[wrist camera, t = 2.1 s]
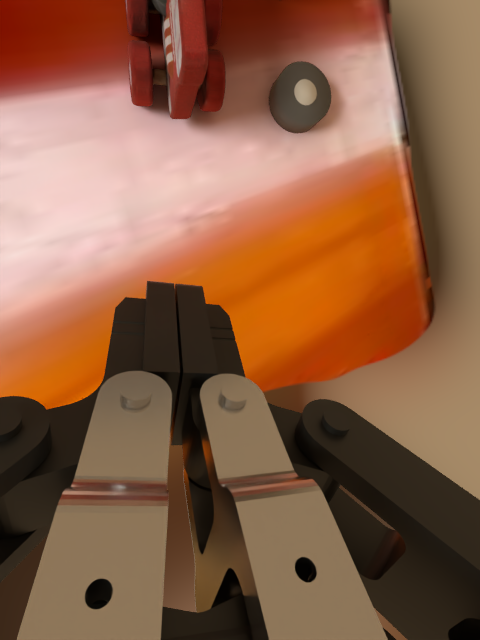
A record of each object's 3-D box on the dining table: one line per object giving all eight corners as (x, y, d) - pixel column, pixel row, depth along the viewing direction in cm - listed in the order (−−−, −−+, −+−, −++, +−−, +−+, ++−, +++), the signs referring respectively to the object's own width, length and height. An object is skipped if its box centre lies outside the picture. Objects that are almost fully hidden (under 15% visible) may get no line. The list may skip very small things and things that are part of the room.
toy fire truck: (209, -18, 31) (248, -166, 21) (216, 139, 32) (258, 69, 22) (120, -35, 29) (117, -208, 19) (132, 133, 30) (135, 54, 20)
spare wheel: (262, 78, 32) (272, 63, 30) (312, 71, 34) (325, 57, 32) (276, 137, 33) (286, 126, 31) (324, 128, 34) (337, 118, 32)
